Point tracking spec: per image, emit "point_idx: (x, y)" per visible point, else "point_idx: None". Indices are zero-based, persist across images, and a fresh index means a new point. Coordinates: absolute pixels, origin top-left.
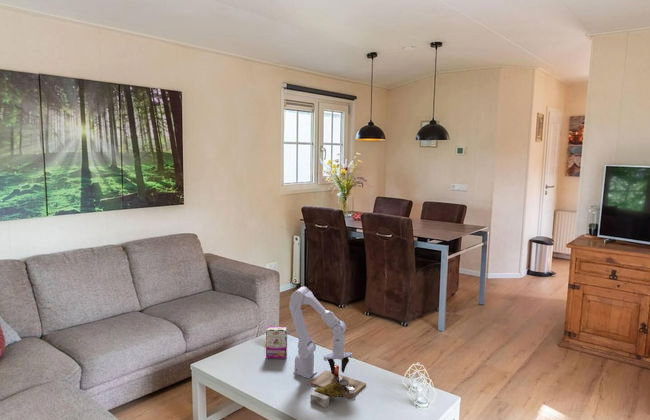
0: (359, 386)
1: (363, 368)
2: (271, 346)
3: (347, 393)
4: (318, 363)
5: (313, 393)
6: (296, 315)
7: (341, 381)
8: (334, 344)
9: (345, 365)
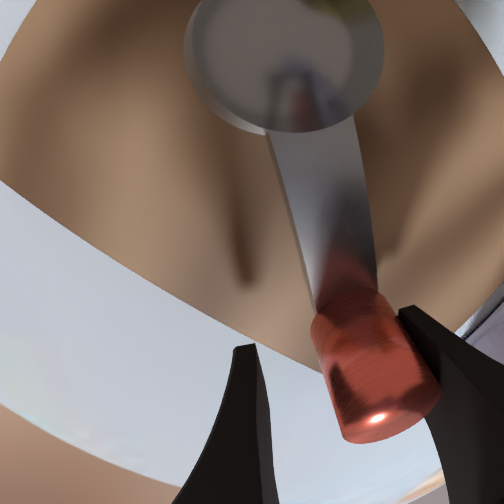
0: (35, 43)
1: (58, 414)
2: None
3: None
4: (363, 447)
5: None
6: None
7: (345, 50)
8: None
9: (221, 456)
